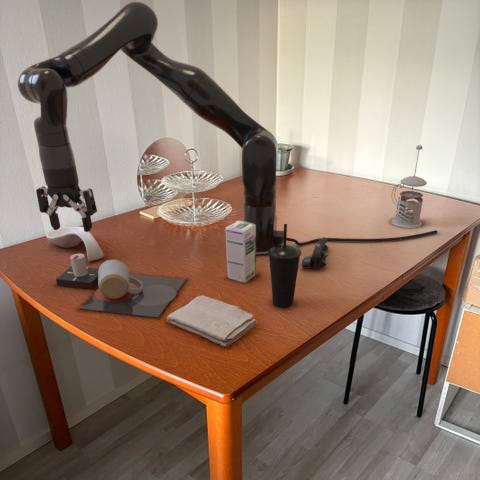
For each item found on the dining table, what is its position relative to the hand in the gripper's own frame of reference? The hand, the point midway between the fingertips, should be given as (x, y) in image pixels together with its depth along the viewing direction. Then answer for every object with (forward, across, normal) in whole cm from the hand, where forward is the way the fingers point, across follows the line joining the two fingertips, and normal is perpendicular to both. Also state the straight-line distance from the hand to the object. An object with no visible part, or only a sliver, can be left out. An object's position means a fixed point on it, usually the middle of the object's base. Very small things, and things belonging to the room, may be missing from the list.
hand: (72, 229), depth 123 cm
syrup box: (+15, -41, -11) cm, 45 cm away
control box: (+14, 0, 0) cm, 14 cm away
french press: (+15, -85, -62) cm, 106 cm away
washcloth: (+15, -40, +14) cm, 45 cm away
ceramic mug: (+14, -13, +4) cm, 20 cm away
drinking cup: (+15, -54, +1) cm, 56 cm away
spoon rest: (+14, +12, -19) cm, 27 cm away
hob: (+14, -17, +4) cm, 22 cm away
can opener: (+15, -60, -26) cm, 67 cm away
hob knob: (+12, 0, 0) cm, 12 cm away
